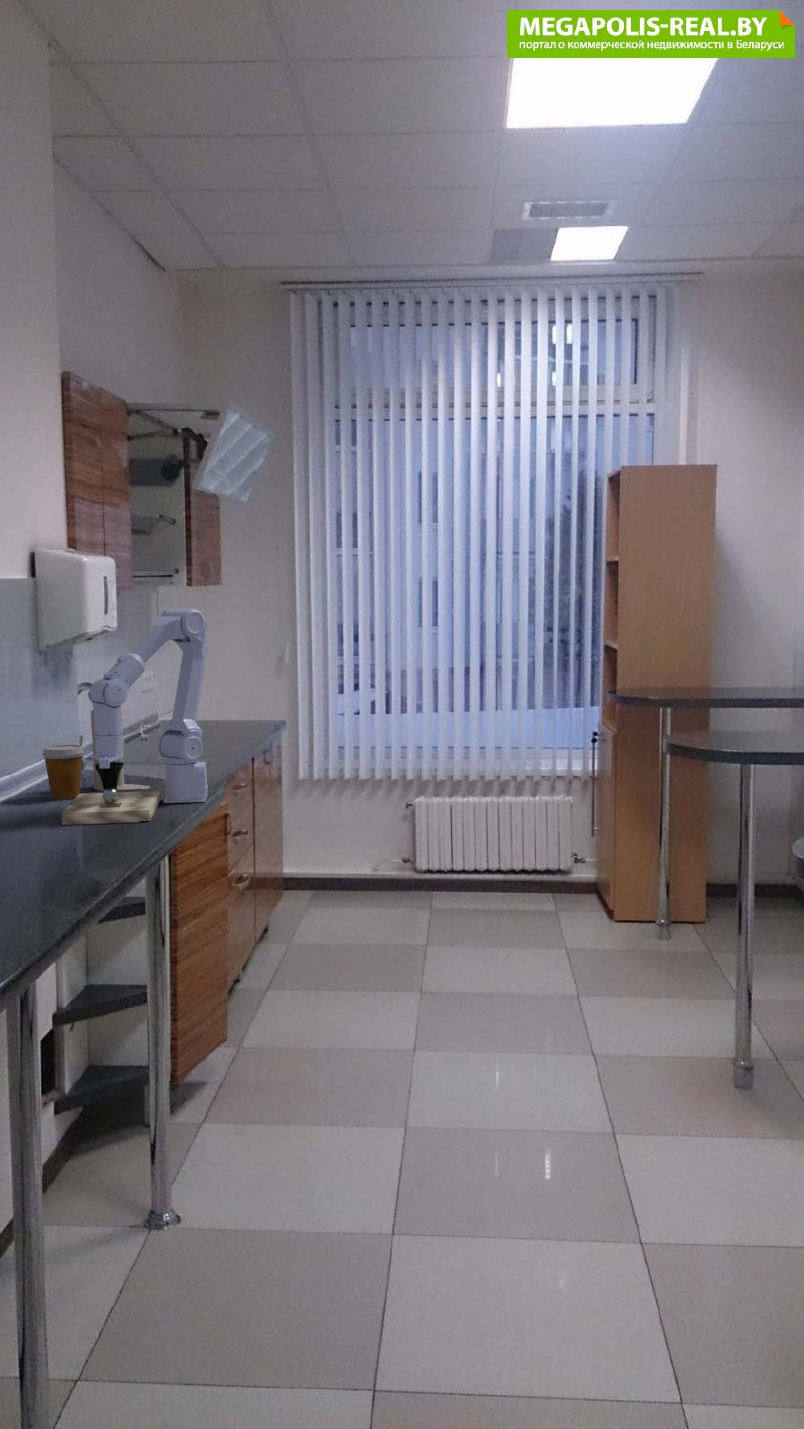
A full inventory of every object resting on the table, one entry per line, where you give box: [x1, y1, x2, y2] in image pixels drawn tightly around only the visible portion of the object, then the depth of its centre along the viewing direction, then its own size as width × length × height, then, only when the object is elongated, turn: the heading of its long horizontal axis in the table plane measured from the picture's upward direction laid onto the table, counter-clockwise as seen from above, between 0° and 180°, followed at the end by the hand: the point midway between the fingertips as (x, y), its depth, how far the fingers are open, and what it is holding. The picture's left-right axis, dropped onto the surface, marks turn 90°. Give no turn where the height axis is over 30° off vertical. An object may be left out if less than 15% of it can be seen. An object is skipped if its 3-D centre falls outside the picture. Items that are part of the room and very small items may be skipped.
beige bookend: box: [90, 709, 151, 792], centre depth 279 cm, size 7×14×20 cm, turn 88°
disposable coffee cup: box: [41, 744, 85, 801], centre depth 269 cm, size 10×10×12 cm
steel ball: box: [102, 788, 119, 804], centre depth 248 cm, size 4×4×4 cm
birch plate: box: [61, 790, 161, 826], centre depth 250 cm, size 18×22×2 cm
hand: (110, 796), depth 249 cm, fingers closed, pressing on steel ball
